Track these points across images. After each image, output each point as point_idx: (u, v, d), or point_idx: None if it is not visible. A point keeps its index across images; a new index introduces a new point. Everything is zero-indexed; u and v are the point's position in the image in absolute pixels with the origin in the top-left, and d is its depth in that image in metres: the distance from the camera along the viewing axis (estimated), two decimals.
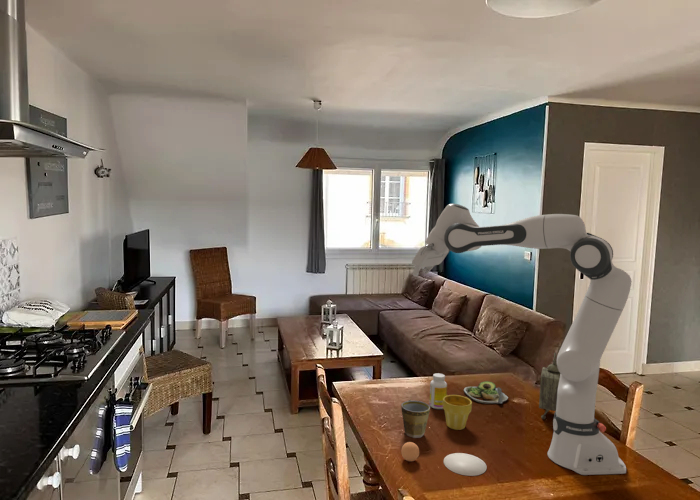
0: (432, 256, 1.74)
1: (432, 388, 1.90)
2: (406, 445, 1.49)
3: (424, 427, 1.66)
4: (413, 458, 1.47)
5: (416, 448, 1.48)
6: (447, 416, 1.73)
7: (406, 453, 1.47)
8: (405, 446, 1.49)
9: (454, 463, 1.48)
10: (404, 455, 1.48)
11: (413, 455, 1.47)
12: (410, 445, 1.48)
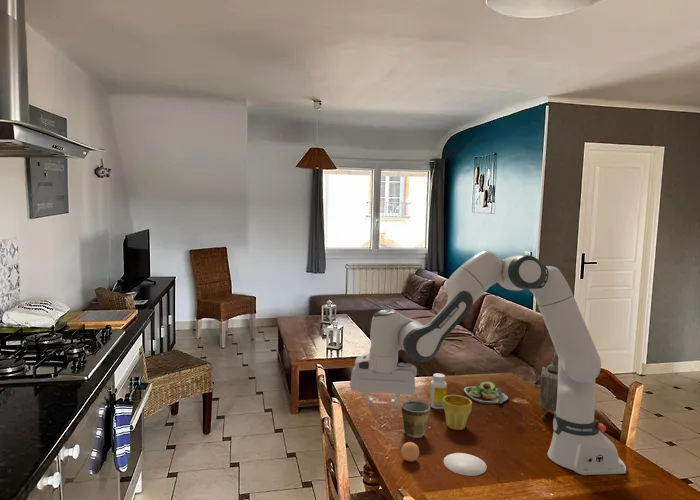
0: None
1: (432, 388, 1.90)
2: (406, 445, 1.49)
3: (424, 427, 1.66)
4: (413, 458, 1.47)
5: (416, 448, 1.48)
6: (447, 416, 1.73)
7: (406, 453, 1.47)
8: (405, 446, 1.49)
9: (454, 463, 1.48)
10: (404, 455, 1.48)
11: (413, 455, 1.47)
12: (410, 445, 1.48)
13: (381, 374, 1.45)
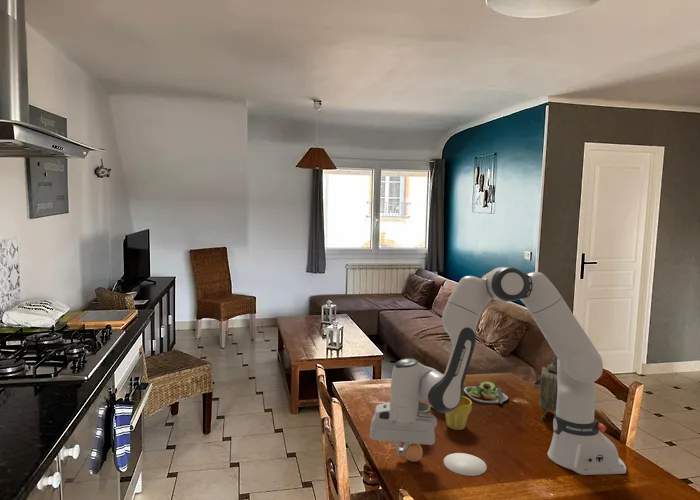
0: None
1: None
2: (413, 445, 1.48)
3: None
4: (415, 459, 1.47)
5: (421, 451, 1.48)
6: (447, 416, 1.73)
7: (410, 452, 1.47)
8: (411, 445, 1.48)
9: (454, 463, 1.48)
10: (408, 453, 1.47)
11: (417, 457, 1.47)
12: (417, 446, 1.48)
13: (401, 424, 1.46)
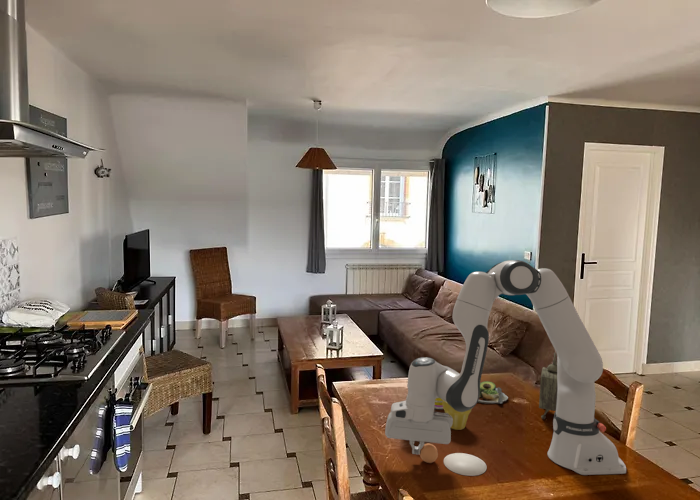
0: None
1: None
2: (433, 447, 1.48)
3: None
4: (428, 460, 1.47)
5: (436, 457, 1.48)
6: None
7: (428, 452, 1.47)
8: (432, 447, 1.48)
9: (454, 463, 1.48)
10: (425, 451, 1.47)
11: (431, 460, 1.47)
12: (436, 451, 1.48)
13: (418, 423, 1.45)
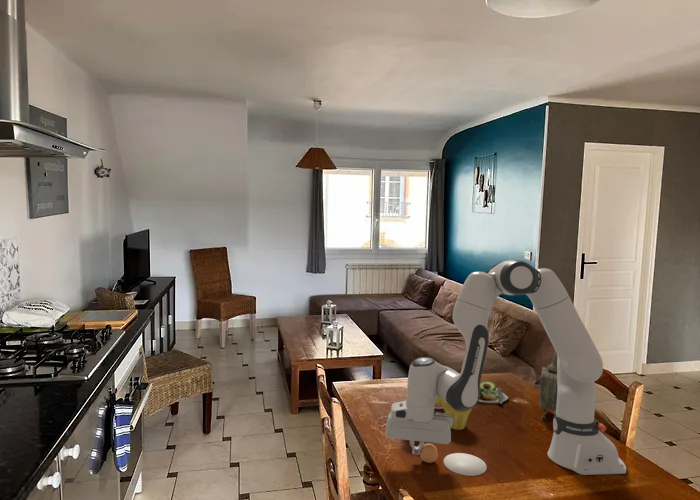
0: None
1: None
2: (433, 447, 1.48)
3: None
4: (428, 460, 1.47)
5: (436, 457, 1.48)
6: None
7: (429, 452, 1.47)
8: (432, 447, 1.48)
9: (454, 463, 1.48)
10: (425, 451, 1.47)
11: (431, 460, 1.47)
12: (436, 451, 1.48)
13: (418, 423, 1.45)
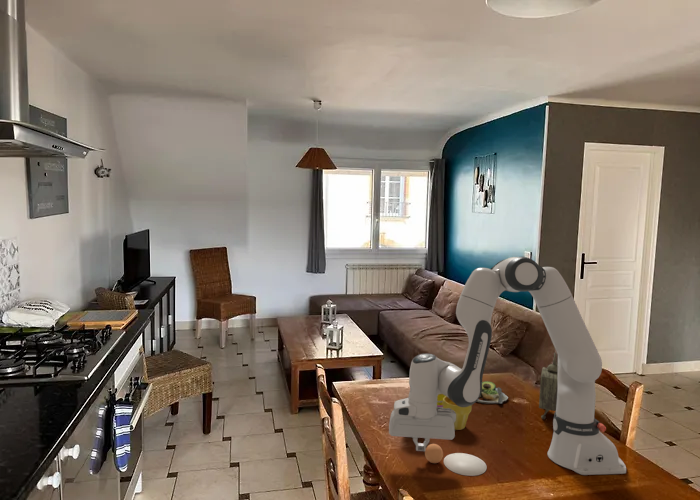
0: None
1: None
2: (441, 451, 1.48)
3: None
4: (431, 460, 1.47)
5: (439, 461, 1.48)
6: None
7: (436, 453, 1.46)
8: (441, 450, 1.48)
9: (454, 463, 1.48)
10: (433, 451, 1.47)
11: (434, 461, 1.46)
12: (442, 455, 1.48)
13: (421, 420, 1.45)
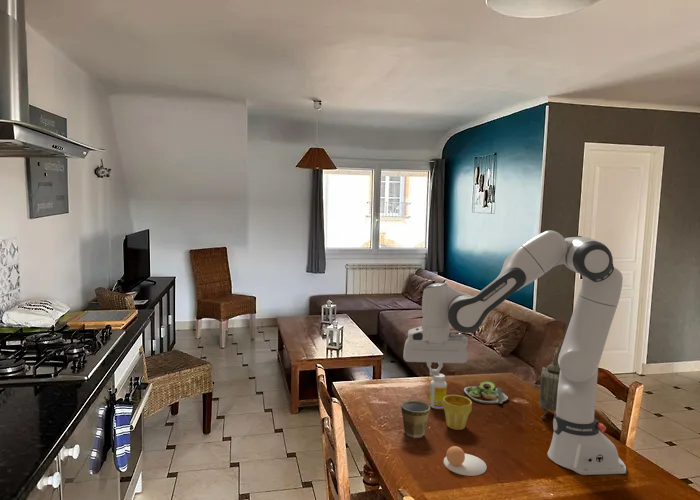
0: None
1: (432, 388, 1.90)
2: None
3: (424, 427, 1.66)
4: (455, 456, 1.45)
5: (447, 456, 1.47)
6: (447, 416, 1.73)
7: (457, 464, 1.46)
8: (454, 465, 1.47)
9: None
10: (460, 463, 1.46)
11: (452, 458, 1.45)
12: (449, 462, 1.47)
13: (434, 344, 1.51)
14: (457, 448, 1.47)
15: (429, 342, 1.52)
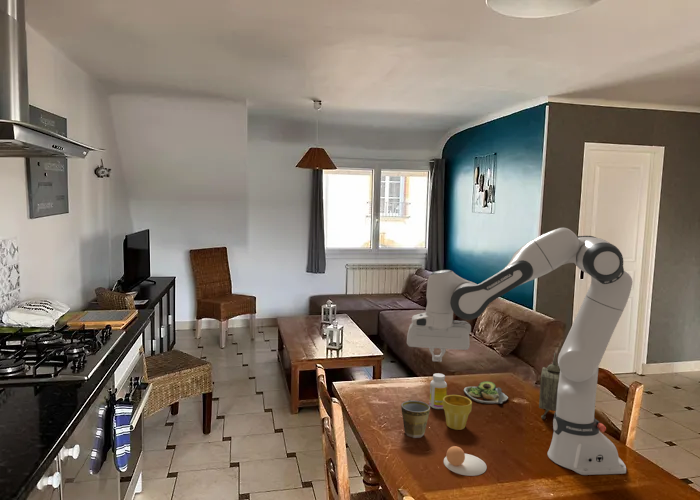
0: None
1: (432, 388, 1.90)
2: None
3: (424, 427, 1.66)
4: (455, 456, 1.45)
5: (447, 456, 1.47)
6: (447, 416, 1.73)
7: (457, 464, 1.46)
8: (454, 465, 1.47)
9: None
10: (460, 463, 1.46)
11: (452, 458, 1.45)
12: (449, 462, 1.47)
13: (438, 330, 1.53)
14: (457, 448, 1.47)
15: (432, 328, 1.54)
